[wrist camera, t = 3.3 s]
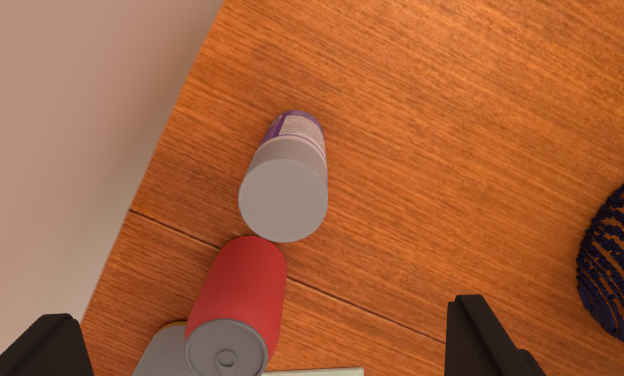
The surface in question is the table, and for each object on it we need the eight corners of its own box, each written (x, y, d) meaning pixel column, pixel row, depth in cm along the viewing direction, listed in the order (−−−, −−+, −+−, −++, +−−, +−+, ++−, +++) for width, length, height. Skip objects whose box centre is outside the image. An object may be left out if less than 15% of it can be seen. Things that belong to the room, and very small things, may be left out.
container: (280, 172, 36) (258, 257, 21) (258, 122, 34) (219, 176, 20) (331, 153, 35) (343, 227, 21) (311, 101, 34) (309, 141, 19)
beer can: (215, 292, 39) (175, 391, 28) (217, 229, 37) (175, 309, 26) (284, 298, 40) (272, 400, 28) (290, 236, 37) (280, 319, 26)
